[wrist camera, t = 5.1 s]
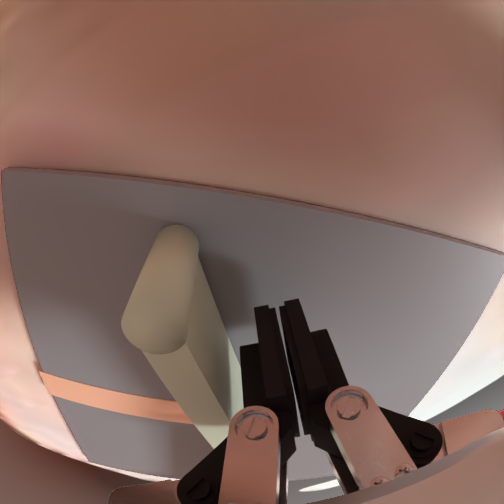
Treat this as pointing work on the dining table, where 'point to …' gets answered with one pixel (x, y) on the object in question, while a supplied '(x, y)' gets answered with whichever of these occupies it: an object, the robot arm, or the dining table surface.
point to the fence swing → (185, 333)
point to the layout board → (226, 300)
